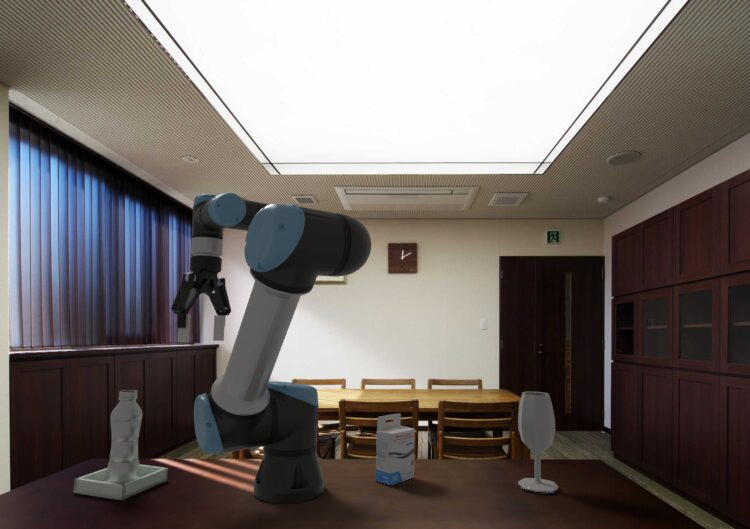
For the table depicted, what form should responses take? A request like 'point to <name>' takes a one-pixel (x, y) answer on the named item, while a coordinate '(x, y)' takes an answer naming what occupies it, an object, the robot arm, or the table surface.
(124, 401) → the plastic bottle
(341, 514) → the table surface
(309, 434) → the robot arm
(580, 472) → the table surface
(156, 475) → the tray
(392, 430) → the ink box
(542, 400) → the wineglass
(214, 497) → the table surface
